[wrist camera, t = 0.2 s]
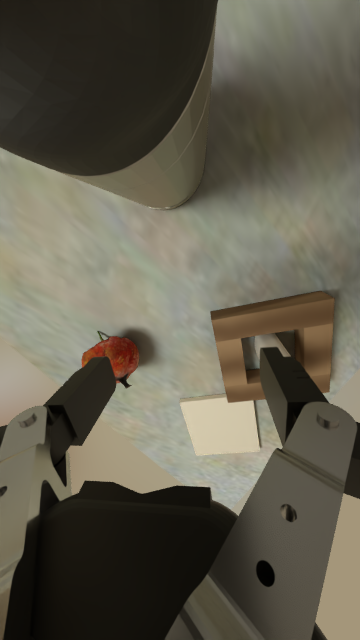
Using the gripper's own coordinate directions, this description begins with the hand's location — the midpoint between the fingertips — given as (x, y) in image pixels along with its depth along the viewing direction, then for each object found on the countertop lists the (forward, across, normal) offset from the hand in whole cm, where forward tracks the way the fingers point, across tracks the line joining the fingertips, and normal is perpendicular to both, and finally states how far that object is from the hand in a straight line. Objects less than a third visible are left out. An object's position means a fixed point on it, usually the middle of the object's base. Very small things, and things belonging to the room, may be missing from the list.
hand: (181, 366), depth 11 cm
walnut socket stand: (+18, -9, +10) cm, 23 cm away
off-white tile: (+19, -1, +26) cm, 32 cm away
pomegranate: (+18, +13, +8) cm, 24 cm away
